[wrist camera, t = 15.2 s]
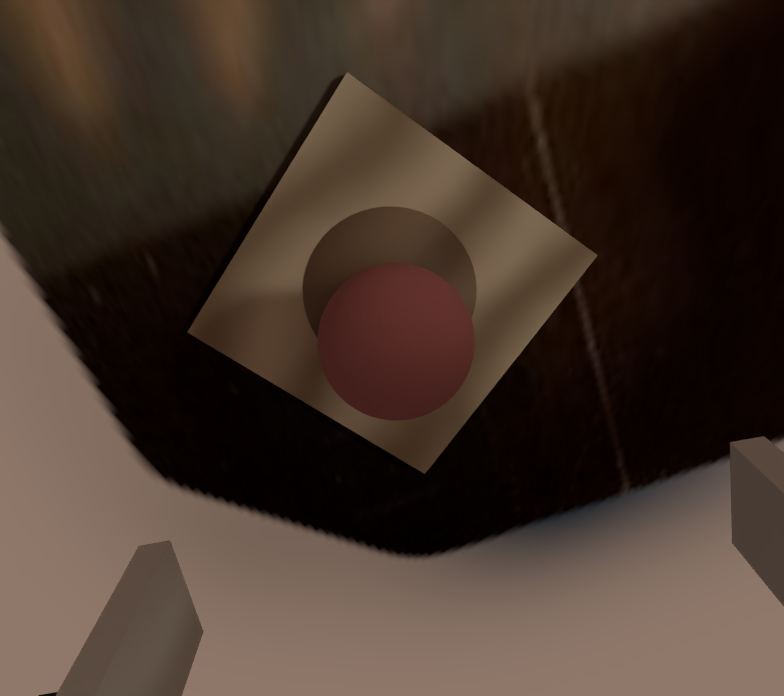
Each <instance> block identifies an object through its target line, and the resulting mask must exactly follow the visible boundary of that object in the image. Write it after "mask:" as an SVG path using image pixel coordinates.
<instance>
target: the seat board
mask: <svg viewBox="0 0 784 696" xmlns="http://www.w3.org/2000/svg"><path fill="white" fill-rule="evenodd" d="M596 257H597V255H596V254H595V253H594V252H592V251H591V250H590V249H588V248H587V247H585V246H584V245H583V244H581V243H580V242H579V241H577V240H576V239H574V238H573V237H572V236H570V235H569V234H568V233H566V232H565V231H564V230H562V229H561V228H559V227H558V226H557V225H555V224H554V223H553V222H551V221H550V220H548V219H547V218H546V217H544V216H543V215H542V214H540V213H539V212H538V211H536V210H535V209H533V208H532V207H531V206H529V205H528V204H527V203H525V202H524V201H522V200H521V199H520V198H518V197H517V196H516V195H514V194H513V193H512V192H510V191H509V190H507V189H506V188H505V187H503V186H502V185H501V184H499V183H498V182H496V181H495V180H494V179H492V178H491V177H490V176H488V175H487V174H486V173H484V172H483V171H481V170H480V169H479V168H477V167H476V166H475V165H473V164H472V163H470V162H469V161H468V160H466V159H465V158H464V157H462V156H461V155H460V154H458V153H457V152H455V151H454V150H453V149H451V148H450V147H449V146H447V145H446V144H444V143H443V142H442V141H440V140H439V139H438V138H436V137H435V136H434V135H432V134H431V133H429V132H428V131H427V130H425V129H424V128H423V127H421V126H420V125H418V124H417V123H416V122H414V121H413V120H412V119H410V118H409V117H408V116H406V115H405V114H403V113H402V112H401V111H399V110H398V109H397V108H395V107H394V106H392V105H391V104H390V103H388V102H387V101H386V100H384V99H383V98H382V97H380V96H379V95H377V94H376V93H375V92H373V91H372V90H371V89H369V88H368V87H366V86H365V85H364V84H362V83H361V82H360V81H358V80H357V79H356V78H354V77H353V76H351V75H350V74H349V73H346V75H345V76H344V78H343V80H342V81H341V83H340V84H339V86H338V88H337V89H336V91H335V93H334V94H333V96H332V97H331V99H330V101H329V102H328V104H327V106H326V107H325V109H324V110H323V112H322V114H321V115H320V117H319V119H318V120H317V122H316V123H315V125H314V127H313V128H312V130H311V132H310V133H309V135H308V137H307V138H306V140H305V141H304V143H303V145H302V146H301V148H300V150H299V151H298V153H297V154H296V156H295V158H294V159H293V161H292V163H291V164H290V166H289V167H288V169H287V171H286V172H285V174H284V176H283V177H282V179H281V180H280V182H279V184H278V185H277V187H276V189H275V190H274V192H273V194H272V195H271V197H270V198H269V200H268V202H267V203H266V205H265V207H264V208H263V210H262V211H261V213H260V215H259V216H258V218H257V220H256V221H255V223H254V224H253V226H252V228H251V229H250V231H249V233H248V234H247V236H246V237H245V239H244V241H243V242H242V244H241V246H240V247H239V249H238V251H237V252H236V254H235V255H234V257H233V259H232V260H231V262H230V264H229V265H228V267H227V268H226V270H225V272H224V273H223V275H222V277H221V278H220V280H219V281H218V283H217V285H216V286H215V288H214V290H213V291H212V293H211V295H210V296H209V298H208V299H207V301H206V303H205V304H204V306H203V308H202V309H201V311H200V312H199V314H198V316H197V317H196V319H195V321H194V322H193V324H192V325H191V327H190V329H189V330H188V333H189V334H191V335H193V336H194V337H196V338H198V339H199V340H201V341H203V342H204V343H206V344H208V345H209V346H211V347H213V348H214V349H216V350H218V351H219V352H221V353H223V354H224V355H226V356H228V357H229V358H231V359H233V360H235V361H236V362H238V363H240V364H241V365H243V366H245V367H246V368H248V369H250V370H251V371H253V372H255V373H256V374H258V375H260V376H261V377H263V378H265V379H266V380H268V381H270V382H271V383H273V384H275V385H276V386H278V387H280V388H281V389H283V390H285V391H287V392H288V393H290V394H292V395H293V396H295V397H297V398H298V399H300V400H302V401H303V402H305V403H307V404H308V405H310V406H312V407H313V408H315V409H317V410H318V411H320V412H322V413H323V414H325V415H327V416H328V417H330V418H332V419H333V420H335V421H337V422H339V423H340V424H342V425H344V426H345V427H347V428H349V429H350V430H352V431H354V432H355V433H357V434H359V435H360V436H362V437H364V438H365V439H367V440H369V441H370V442H372V443H374V444H375V445H377V446H379V447H380V448H382V449H384V450H385V451H387V452H389V453H391V454H392V455H394V456H396V457H397V458H399V459H401V460H402V461H404V462H406V463H407V464H409V465H411V466H412V467H414V468H416V469H417V470H419V471H421V472H422V473H424V474H425V473H426V472H427V470H428V469H429V468H430V467H431V465H432V464H433V463H434V462H435V460H436V459H437V458H438V457H439V455H440V454H441V453H442V452H443V450H444V449H445V448H446V446H447V445H448V444H449V443H450V441H451V440H452V439H453V438H454V436H455V435H456V434H457V433H458V431H459V430H460V429H461V427H462V426H463V425H464V424H465V422H466V421H467V420H468V419H469V417H470V416H471V415H472V414H473V412H474V411H475V410H476V409H477V407H478V406H479V405H480V403H481V402H482V401H483V400H484V398H485V397H486V396H487V395H488V393H489V392H490V391H491V390H492V388H493V387H494V386H495V384H496V383H497V382H498V381H499V379H500V378H501V377H502V376H503V374H504V373H505V372H506V371H507V369H508V368H509V367H510V366H511V364H512V363H513V362H514V360H515V359H516V358H517V357H518V355H519V354H520V353H521V352H522V350H523V349H524V348H525V347H526V345H527V344H528V343H529V341H530V340H531V339H532V338H533V336H534V335H535V334H536V333H537V331H538V330H539V329H540V328H541V326H542V325H543V324H544V323H545V321H546V320H547V319H548V317H549V316H550V315H551V314H552V312H553V311H554V310H555V309H556V307H557V306H558V305H559V304H560V302H561V301H562V300H563V298H564V297H565V296H566V295H567V293H568V292H569V291H570V290H571V288H572V287H573V286H574V285H575V283H576V282H577V281H578V280H579V278H580V277H581V276H582V274H583V273H584V272H585V271H586V269H587V268H588V267H589V266H590V264H591V263H592V262H593V261H594V259H595V258H596ZM389 263H402V264H411V265H415V266H418V267H422V268H425V269H427V270H429V271H431V272H433V273H435V274H437V275H438V276H440V277H441V278H443V279H444V280H445V281H447V282H448V283H449V284H450V285H451V286H452V287H453V288H454V289H455V290H456V291H457V293H458V294H459V295H460V296H461V298H462V300H463V301H464V303H465V305H466V307H467V308H468V311H469V313H470V316H471V319H472V323H473V327H474V335H475V349H474V357H473V361H472V365H471V368H470V370H469V373H468V375H467V377H466V379H465V381H464V383H463V384H462V386H461V387H460V389H459V390H458V391H457V392H456V394H455V395H454V396H453V397H452V398H451V399H450V400H449V401H448V402H446V403H445V404H444V405H442V406H441V407H440V408H438V409H436V410H434V411H433V412H431V413H429V414H427V415H424V416H421V417H418V418H414V419H410V420H400V421H391V420H383V419H378V418H374V417H371V416H368V415H366V414H363V413H361V412H360V411H358V410H356V409H354V408H353V407H351V406H350V405H349V404H347V403H346V402H345V401H344V400H343V399H342V398H341V397H339V396H338V394H337V393H336V392H335V391H334V390H333V388H332V387H331V385H330V384H329V382H328V380H327V379H326V376H325V374H324V372H323V370H322V367H321V363H320V359H319V355H318V346H317V343H318V330H319V323H320V320H321V316H322V314H323V312H324V309H325V307H326V305H327V303H328V302H329V300H330V298H331V297H332V295H333V294H334V293H335V292H336V291H337V289H338V288H339V287H340V286H341V285H342V284H343V283H345V282H346V281H347V280H348V279H350V278H351V277H352V276H354V275H356V274H357V273H359V272H361V271H363V270H365V269H368V268H371V267H373V266H377V265H381V264H389Z"/></svg>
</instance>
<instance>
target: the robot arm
mask: <svg viewBox="0 0 784 696" xmlns="http://www.w3.org/2000/svg"><path fill="white" fill-rule="evenodd" d="M730 467H731V513H732V543H733V544H734V546H735V547H736V548H737V549H738V551H739V552H740V553H741V554H742V555H743V557H744V558H745V559H746V560H747V562H748V563H749V564H750V565H751V567H753V569H754V570H755V572H756V573H757V574H758V575H759V576H760V578H761V579H762V580H763V581H764V583H765V584H766V585H767V586H768V588H769V589H770V590H771V591H772V592H773V594H774V595H775V596H776V597H777V599H778V600H779V601H780V602H781V603H782V605H783V606H784V453H783V452H782V451H781V450H780V449H778V448H777V447H776V446H775V445H774V444H773V443H771V442H770V441H769V440H768V439H767V438H766V437H764V436H763V437H757V438H752V439H746V440H740V441H735V442H730ZM202 634H203V630H202V627H201V624H200V621H199V618H198V616H197V613H196V610H195V608H194V605H193V602H192V599H191V596H190V594H189V591H188V588H187V586H186V583H185V580H184V577H183V574H182V572H181V569H180V566H179V563H178V561H177V558H176V556H175V553H174V550H173V548H172V544H171V542H170V541H165V542H159V543H154V544H148V545H142V546H139V547H138V548H137V550H136V552H135V554H134V556H133V557H132V559H131V561H130V563H129V565H128V567H127V568H126V570H125V572H124V574H123V576H122V577H121V579H120V581H119V583H118V585H117V586H116V588H115V590H114V592H113V594H112V595H111V597H110V599H109V601H108V603H107V605H106V606H105V608H104V610H103V612H102V613H101V615H100V617H99V619H98V621H97V622H96V624H95V626H94V628H93V630H92V631H91V633H90V635H89V637H88V639H87V640H86V642H85V644H84V646H83V648H82V649H81V651H80V653H79V655H78V657H77V658H76V660H75V662H74V664H73V666H72V667H71V669H70V671H69V673H68V675H67V676H66V678H65V680H64V682H63V684H62V685H61V687H60V689H59V691H58V692H56V693H50V694H44V695H39V696H182V693H183V690H184V687H185V684H186V681H187V678H188V675H189V672H190V669H191V666H192V663H193V661H194V658H195V655H196V652H197V649H198V646H199V643H200V640H201V637H202Z"/></svg>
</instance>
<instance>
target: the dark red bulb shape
mask: <svg viewBox="0 0 784 696" xmlns="http://www.w3.org/2000/svg"><path fill="white" fill-rule="evenodd" d="M317 346H318V355H319V359H320V363H321V367H322V370H323V372H324V374H325V376H326V379H327V380H328V382H329V384H330V385H331V387H332V388H333V390H334V391H335V392H336V393H337V394H338V396H339V397H341V398H342V399H343V400H344V401H345V402H346V403H347V404H349V405H350V406H351V407H353V408H354V409H356V410H358V411H360V412H361V413H363V414H366V415H368V416H371V417H374V418H378V419H383V420H391V421H400V420H410V419H414V418H418V417H421V416H424V415H427V414H429V413H431V412H433V411H434V410H436V409H438V408H440V407H441V406H442V405H444V404H445V403H446V402H448V401H449V400H450V399H451V398H452V397H453V396H454V395H455V394H456V392H457V391H458V390H459V389H460V387H461V386H462V384H463V383H464V381H465V379H466V377H467V375H468V373H469V370H470V368H471V365H472V361H473V357H474V349H475V335H474V327H473V323H472V319H471V316H470V313H469V311H468V308H467V307H466V305H465V303H464V301H463V300H462V298H461V296H460V295H459V294H458V293H457V291H456V290H455V289H454V288H453V287H452V286H451V285H450V284H449V283H448V282H447V281H445V280H444V279H443V278H441V277H440V276H438V275H437V274H435V273H433V272H431V271H429V270H427V269H425V268H422V267H418V266H415V265H411V264H402V263H389V264H381V265H377V266H373V267H371V268H368V269H365V270H363V271H361V272H359V273H357V274H356V275H354V276H352V277H351V278H350V279H348V280H347V281H346V282H345V283H343V284H342V285H341V286H340V287H339V288H338V289H337V291H336V292H335V293H334V294H333V295H332V297H331V298H330V300H329V302H328V303H327V305H326V307H325V309H324V312H323V314H322V316H321V320H320V323H319V330H318V343H317Z"/></svg>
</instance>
